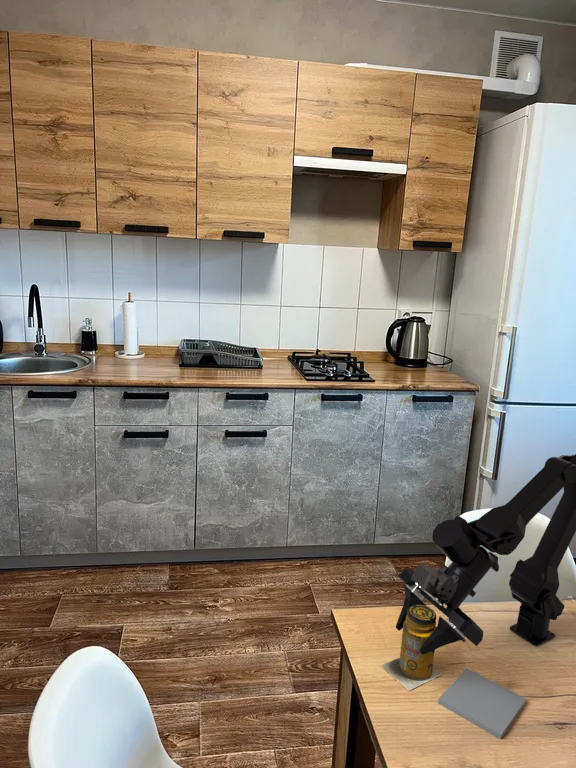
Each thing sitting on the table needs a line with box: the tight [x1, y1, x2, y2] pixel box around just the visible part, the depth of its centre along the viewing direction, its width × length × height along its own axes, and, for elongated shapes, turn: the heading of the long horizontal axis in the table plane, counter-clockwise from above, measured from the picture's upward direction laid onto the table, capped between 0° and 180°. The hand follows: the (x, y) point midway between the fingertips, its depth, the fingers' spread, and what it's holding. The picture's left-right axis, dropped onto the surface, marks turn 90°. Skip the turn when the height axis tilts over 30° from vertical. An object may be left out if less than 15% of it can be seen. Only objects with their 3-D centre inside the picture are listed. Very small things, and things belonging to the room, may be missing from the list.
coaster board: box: [437, 667, 527, 740], centre depth 102 cm, size 11×11×1 cm
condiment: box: [381, 605, 443, 692], centre depth 107 cm, size 7×8×12 cm
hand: (408, 640), depth 107 cm, fingers open, 7 cm apart
